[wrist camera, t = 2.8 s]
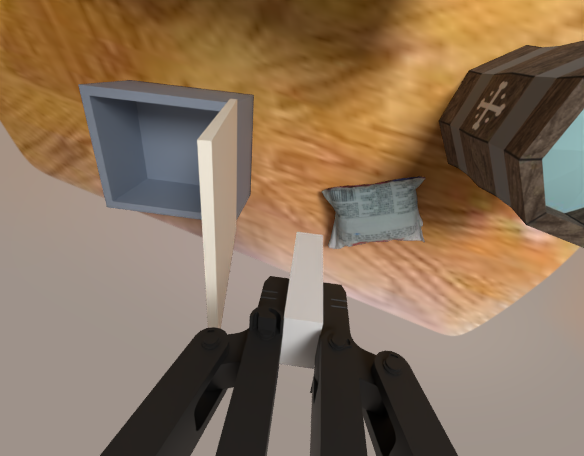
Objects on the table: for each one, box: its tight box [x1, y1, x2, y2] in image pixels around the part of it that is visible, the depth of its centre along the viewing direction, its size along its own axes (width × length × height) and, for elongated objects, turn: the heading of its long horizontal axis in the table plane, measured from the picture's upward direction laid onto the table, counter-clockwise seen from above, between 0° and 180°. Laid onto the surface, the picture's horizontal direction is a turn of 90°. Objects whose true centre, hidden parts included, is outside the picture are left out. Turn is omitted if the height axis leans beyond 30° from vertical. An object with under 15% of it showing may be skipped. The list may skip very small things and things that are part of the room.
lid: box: [197, 99, 237, 329], centre depth 22 cm, size 13×14×1 cm
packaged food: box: [322, 176, 425, 249], centre depth 36 cm, size 9×12×5 cm
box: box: [79, 80, 254, 220], centre depth 32 cm, size 12×14×8 cm
